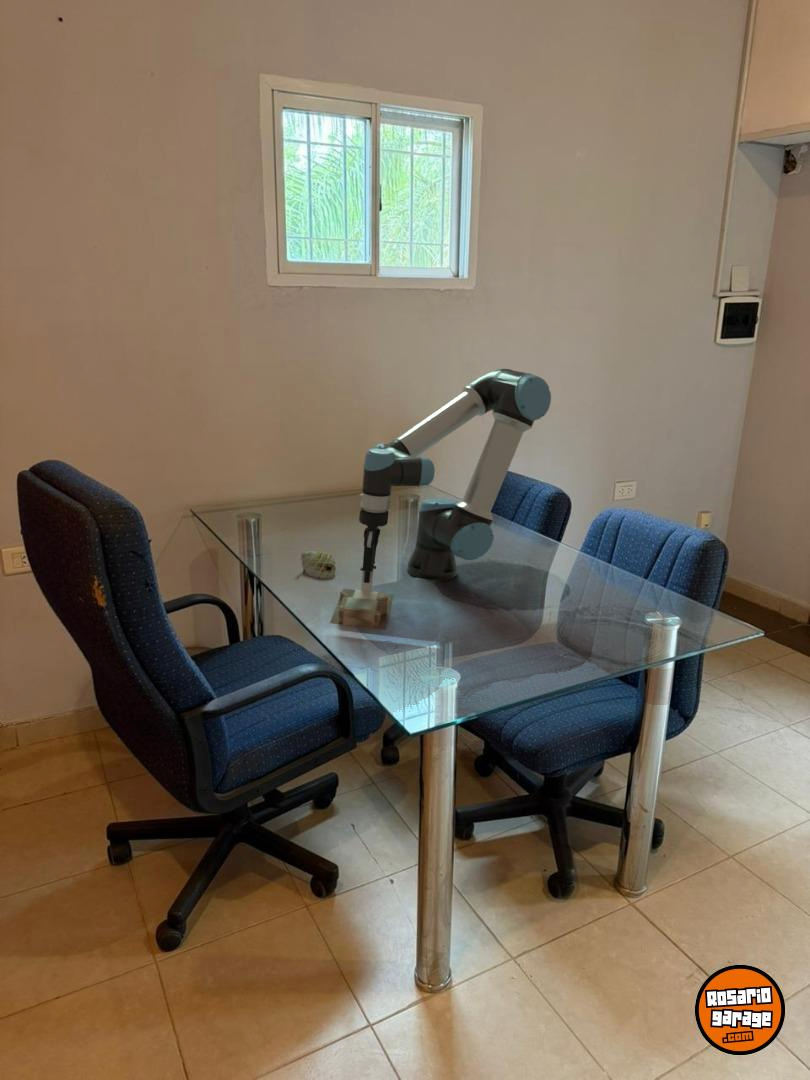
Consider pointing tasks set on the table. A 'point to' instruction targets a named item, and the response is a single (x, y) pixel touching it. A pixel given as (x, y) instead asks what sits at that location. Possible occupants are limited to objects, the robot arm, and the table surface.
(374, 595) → the tile
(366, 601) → the dock
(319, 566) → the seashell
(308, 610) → the table surface
